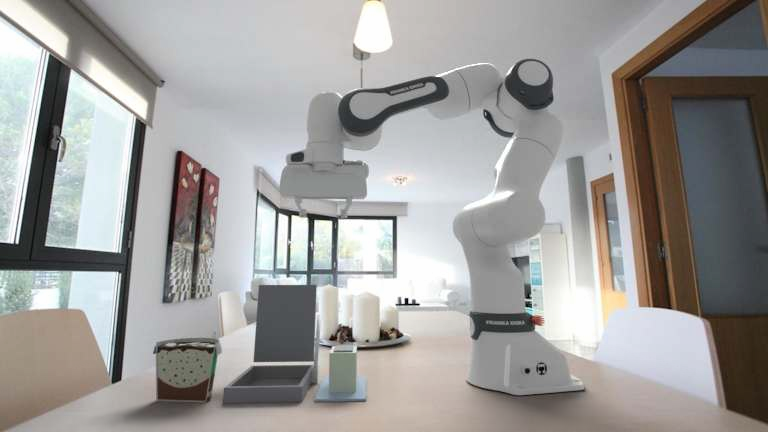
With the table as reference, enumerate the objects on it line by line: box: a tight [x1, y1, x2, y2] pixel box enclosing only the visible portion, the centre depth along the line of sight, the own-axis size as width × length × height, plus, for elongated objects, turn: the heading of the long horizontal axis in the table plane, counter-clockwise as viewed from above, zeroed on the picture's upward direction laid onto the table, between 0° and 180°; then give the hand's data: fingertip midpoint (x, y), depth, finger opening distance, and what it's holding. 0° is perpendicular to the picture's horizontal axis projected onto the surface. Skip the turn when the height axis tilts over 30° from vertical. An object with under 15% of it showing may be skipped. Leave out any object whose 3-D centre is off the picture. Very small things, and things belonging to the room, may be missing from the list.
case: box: [222, 314, 322, 404], centre depth 76 cm, size 15×18×13 cm
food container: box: [152, 337, 223, 403], centre depth 71 cm, size 12×6×10 cm, turn 84°
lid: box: [253, 284, 318, 363], centre depth 86 cm, size 13×17×1 cm
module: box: [328, 344, 358, 392], centre depth 75 cm, size 5×7×7 cm
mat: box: [314, 375, 367, 403], centre depth 74 cm, size 9×15×1 cm, turn 3°
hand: (323, 217), depth 88 cm, fingers open, 8 cm apart
